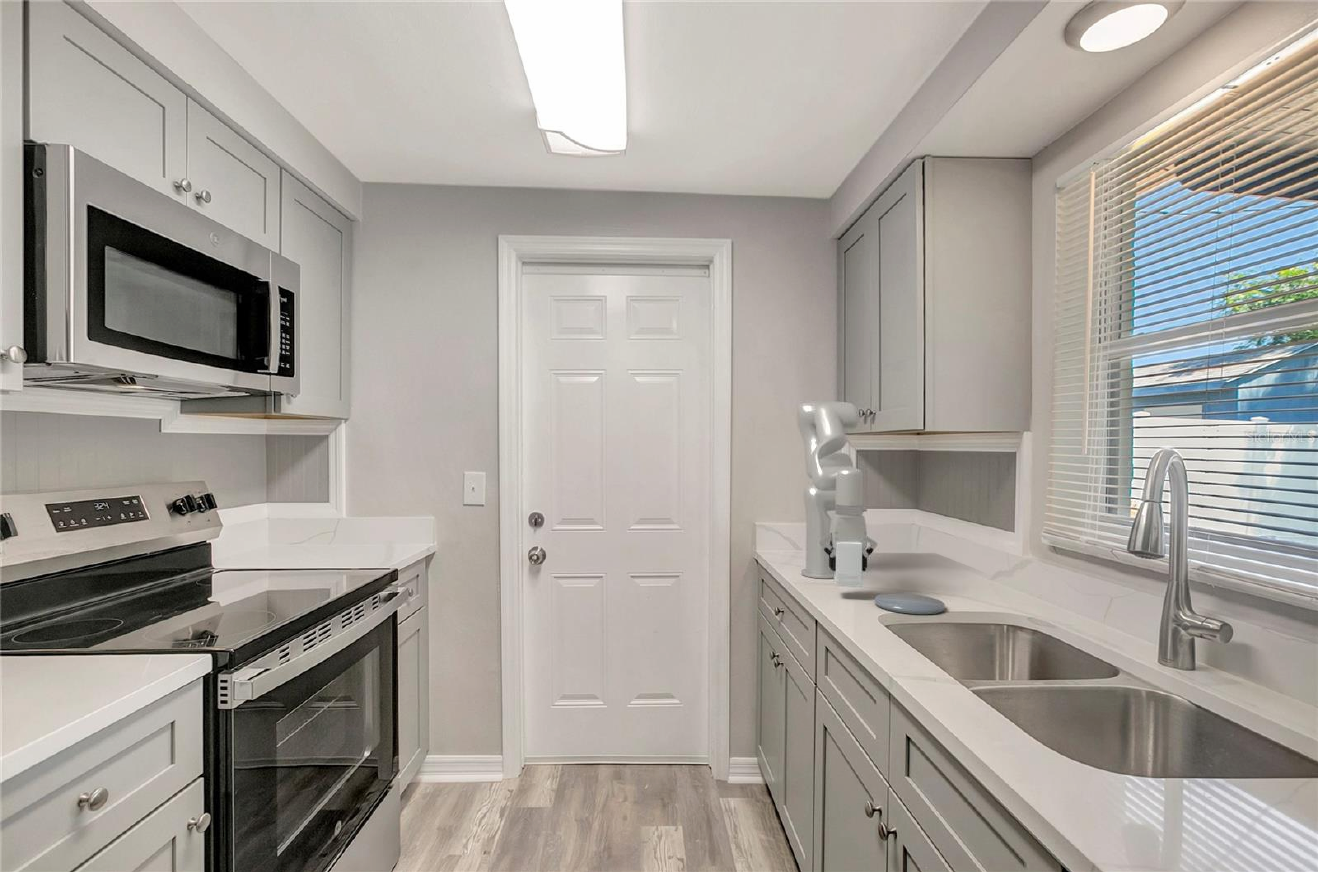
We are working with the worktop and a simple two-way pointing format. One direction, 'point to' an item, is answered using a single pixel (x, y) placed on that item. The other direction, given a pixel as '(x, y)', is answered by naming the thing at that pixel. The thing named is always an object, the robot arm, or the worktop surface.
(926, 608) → the slate dish
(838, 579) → the supplement box
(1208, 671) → the worktop surface
